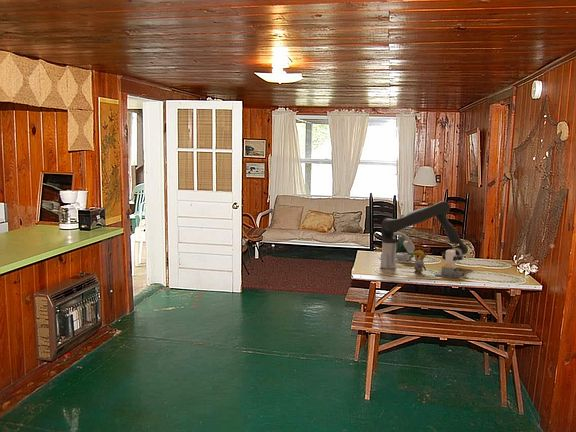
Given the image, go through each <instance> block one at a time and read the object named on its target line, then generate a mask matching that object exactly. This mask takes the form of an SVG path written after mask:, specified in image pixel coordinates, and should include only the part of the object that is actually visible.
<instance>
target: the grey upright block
mask: <svg viewBox="0 0 576 432" xmlns="http://www.w3.org/2000/svg"><path fill="white" fill-rule="evenodd" d="M455 253H456V250H452V248H451V249H450V248H449V249H447V250H445V255H446V258H445V259H444V260H445V261H444V262H445V263H444V265H452V267H453V268H454V269H455V268H456V261H453V257H455Z"/></svg>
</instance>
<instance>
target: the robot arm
mask: <svg viewBox="0 0 576 432" xmlns="http://www.w3.org/2000/svg"><path fill="white" fill-rule="evenodd" d="M450 210H451V205H450V203H449V202H447V201H446V200H441V201H439V202H437V203H435V204H433V205H430V206H425V207H421V208H419V209H415V210H411V211H409V212H408V213H407V214H406V215H405V216H403V217H399V218H396V219H395V218H388V217H386V218H384V219H383V220H382V222H381V226H380V227H381V228H380V230H381V232H380V233H381V239H382V240H381V241H382V243H381V247H382V248H381V249H382V251H381V253H380V268H383V269H386V270H388V269H390V270H392V269H396V266H397V265H396V262H397V261H396V259H397V258H396V249H397V237H396V236H394V234H393V233H395V232H400V231H402V230H403V229H405V228H408V227H412V226H415V225H417V224H421V223H423V222H426V221H427V220H430V219H431V218H433V217H434V218H437V220H438V222H439V223H440V225H441V227H442V229H443V230H444V232H445V235H446V236H447V238H448V241H449V243H450V244H453V245H454V244H458V245H456V246H454V247H452V248H451V249H452V250H456V253H455V257H453V261H455V262H456V261H462V260H464V255H466V254H468V252H469V248H468V247H467V245H466V244H465V243H464V242H463V240H462V239H461V238H460V236H459V233H458V232H457V229H456V228H455V227H454V225H453V224H452V223H451V222H450V221H449V220H448V218H447V216H446V214H448V213H449V212H450ZM441 258H442V260H445V258H446V253H443V252H442V253H441Z"/></svg>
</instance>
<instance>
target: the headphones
mask: <svg viewBox="0 0 576 432" xmlns="http://www.w3.org/2000/svg"><path fill="white" fill-rule="evenodd" d="M393 234H394V236H395V237H397V236H402V235H403V236H405V238H406V239H407V240H408V241H404V242H403V245H404V247H405V249H406V250H407V252H408V253H413V252H414V251H415V250H416V247H415V245H414V243H412V242H411V241H412V240H411V239H410V237H409V236H408V235H406V234H405V233H404V232H400V231H397V232H395V233H393ZM408 253H397V254H396V262H397V263H398V262H399V263H403V262H402V261H407V262H409V260H410V258H411V257H410V255H409V254H408Z"/></svg>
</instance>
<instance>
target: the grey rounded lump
mask: <svg viewBox="0 0 576 432" xmlns="http://www.w3.org/2000/svg"><path fill="white" fill-rule="evenodd" d="M464 273H465V272H464V271H461V270H460V271H459V268H457V267H455V269H454V268H453V267H452V265H445V264H444V265H442V266H441V269H440V270H439V271H438V272H436V273H435V275H434V276H435V277H439V276H440V277H441V278H450V279H457V280H458V279H460V278H461V276H462V275H463V274H464ZM440 277H439V278H440Z"/></svg>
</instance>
